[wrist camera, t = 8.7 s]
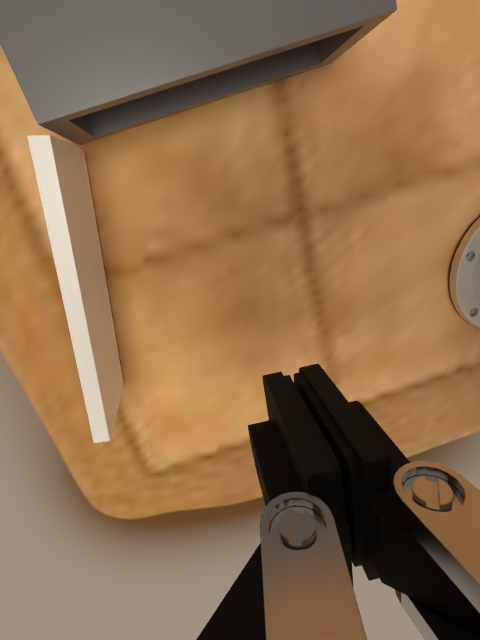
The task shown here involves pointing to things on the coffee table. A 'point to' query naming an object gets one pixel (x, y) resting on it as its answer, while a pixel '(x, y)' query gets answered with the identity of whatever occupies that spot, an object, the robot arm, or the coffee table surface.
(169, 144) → the coffee table surface
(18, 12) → the gray cabinet
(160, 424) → the coffee table surface
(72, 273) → the side door
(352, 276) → the coffee table surface
